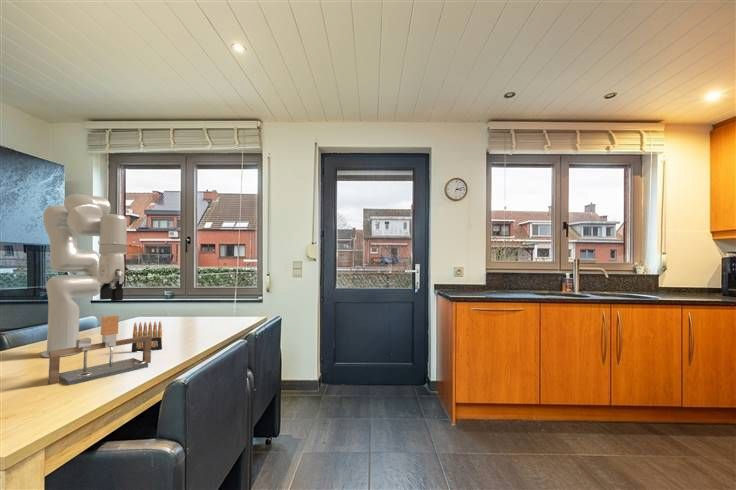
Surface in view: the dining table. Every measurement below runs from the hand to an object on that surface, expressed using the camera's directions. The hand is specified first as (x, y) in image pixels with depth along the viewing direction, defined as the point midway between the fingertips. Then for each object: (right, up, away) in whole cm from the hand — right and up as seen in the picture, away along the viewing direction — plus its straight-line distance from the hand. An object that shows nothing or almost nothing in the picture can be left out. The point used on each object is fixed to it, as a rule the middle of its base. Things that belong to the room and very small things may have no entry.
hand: (111, 299), depth 118 cm
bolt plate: (-1, -24, -2) cm, 24 cm away
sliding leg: (0, -22, -1) cm, 22 cm away
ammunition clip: (-5, -26, +26) cm, 37 cm away
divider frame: (-1, -24, -2) cm, 24 cm away
